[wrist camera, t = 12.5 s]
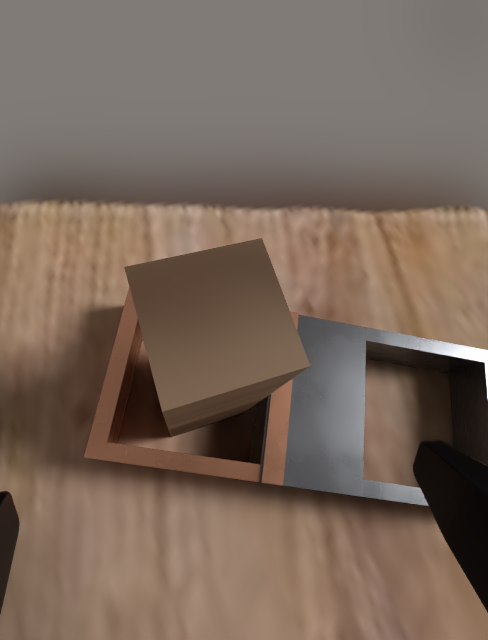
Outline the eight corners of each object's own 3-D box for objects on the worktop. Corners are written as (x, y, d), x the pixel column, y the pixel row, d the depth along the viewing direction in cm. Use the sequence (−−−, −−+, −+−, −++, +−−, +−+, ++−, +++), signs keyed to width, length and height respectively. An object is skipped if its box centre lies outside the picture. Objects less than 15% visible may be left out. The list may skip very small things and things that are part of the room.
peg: (241, 414, 21) (310, 366, 10) (171, 437, 20) (162, 412, 9) (220, 347, 23) (261, 238, 11) (152, 365, 22) (124, 267, 10)
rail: (470, 510, 22) (517, 518, 19) (97, 457, 20) (82, 457, 17) (460, 363, 25) (499, 351, 22) (136, 304, 23) (129, 281, 20)
